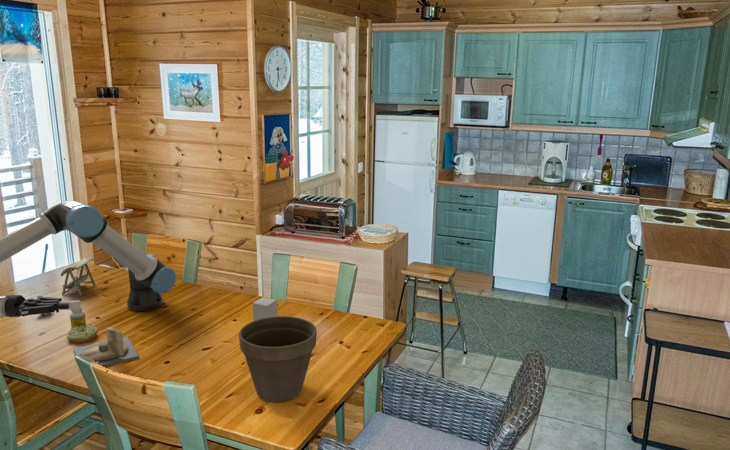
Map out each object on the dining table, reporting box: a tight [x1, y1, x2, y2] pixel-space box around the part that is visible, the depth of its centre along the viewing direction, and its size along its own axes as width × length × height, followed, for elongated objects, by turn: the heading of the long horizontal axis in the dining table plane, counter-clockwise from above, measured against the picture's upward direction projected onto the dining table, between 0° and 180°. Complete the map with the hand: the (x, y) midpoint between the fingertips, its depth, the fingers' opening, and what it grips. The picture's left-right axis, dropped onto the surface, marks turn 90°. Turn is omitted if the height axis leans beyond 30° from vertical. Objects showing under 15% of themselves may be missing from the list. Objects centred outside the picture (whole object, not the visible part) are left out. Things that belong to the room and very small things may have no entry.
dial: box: [83, 327, 128, 361], centre depth 207 cm, size 17×15×10 cm
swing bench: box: [60, 257, 97, 297], centre depth 270 cm, size 15×10×15 cm, turn 178°
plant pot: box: [238, 315, 318, 403], centre depth 184 cm, size 25×25×22 cm
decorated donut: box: [66, 324, 98, 344], centre depth 222 cm, size 10×11×4 cm
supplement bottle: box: [69, 305, 87, 329], centre depth 228 cm, size 5×5×10 cm
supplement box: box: [252, 297, 278, 321], centre depth 231 cm, size 7×7×13 cm
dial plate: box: [73, 336, 140, 368], centre depth 209 cm, size 19×19×1 cm
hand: (79, 304), depth 197 cm, fingers closed
